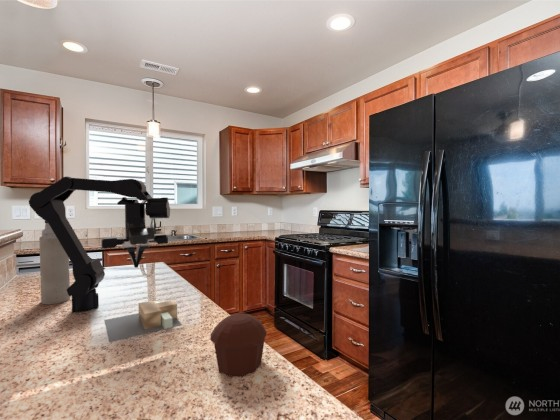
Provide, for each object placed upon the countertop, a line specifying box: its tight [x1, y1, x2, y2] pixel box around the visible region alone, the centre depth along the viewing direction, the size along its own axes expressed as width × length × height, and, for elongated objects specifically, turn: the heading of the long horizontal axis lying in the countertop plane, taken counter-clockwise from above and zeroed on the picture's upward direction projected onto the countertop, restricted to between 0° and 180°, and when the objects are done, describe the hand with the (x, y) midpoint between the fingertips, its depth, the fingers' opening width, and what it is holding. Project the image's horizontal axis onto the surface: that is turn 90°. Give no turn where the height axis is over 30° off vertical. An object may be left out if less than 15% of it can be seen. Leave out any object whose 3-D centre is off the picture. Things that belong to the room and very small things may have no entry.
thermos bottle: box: [39, 220, 71, 305], centre depth 101 cm, size 8×8×28 cm
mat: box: [104, 312, 183, 343], centre depth 81 cm, size 17×16×1 cm
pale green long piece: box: [154, 300, 174, 330], centre depth 84 cm, size 2×16×2 cm, turn 34°
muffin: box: [209, 313, 268, 378], centre depth 61 cm, size 12×11×10 cm
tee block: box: [138, 299, 178, 329], centre depth 83 cm, size 9×10×4 cm
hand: (136, 267), depth 94 cm, fingers closed
